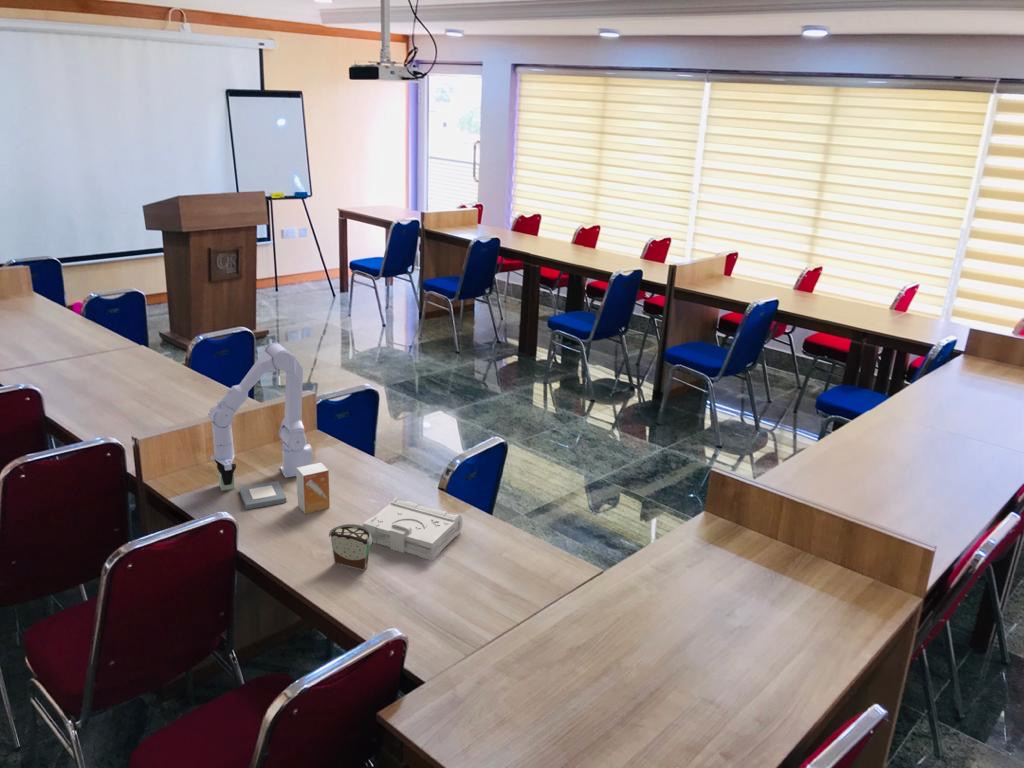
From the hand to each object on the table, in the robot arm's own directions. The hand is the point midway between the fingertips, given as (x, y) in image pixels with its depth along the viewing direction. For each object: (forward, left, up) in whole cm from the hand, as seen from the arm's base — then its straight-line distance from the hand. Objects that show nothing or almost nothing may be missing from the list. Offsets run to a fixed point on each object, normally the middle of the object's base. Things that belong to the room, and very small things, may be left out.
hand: (226, 481), depth 266 cm
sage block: (0, 0, -2) cm, 2 cm away
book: (-43, +49, -2) cm, 65 cm away
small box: (-22, +23, -2) cm, 32 cm away
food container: (-25, +57, -2) cm, 62 cm away
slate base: (-9, +11, -2) cm, 14 cm away
